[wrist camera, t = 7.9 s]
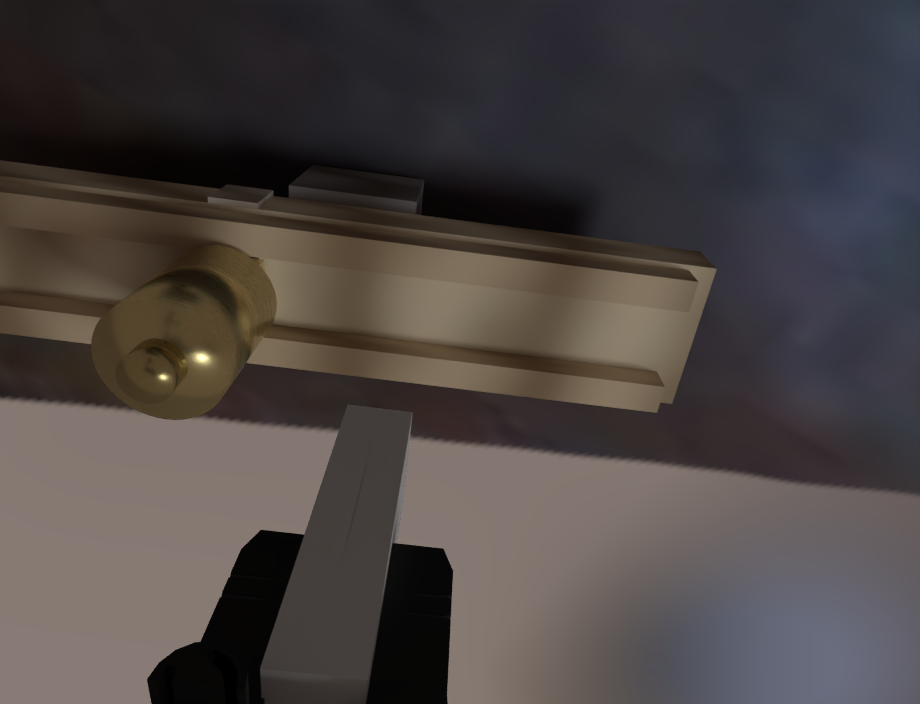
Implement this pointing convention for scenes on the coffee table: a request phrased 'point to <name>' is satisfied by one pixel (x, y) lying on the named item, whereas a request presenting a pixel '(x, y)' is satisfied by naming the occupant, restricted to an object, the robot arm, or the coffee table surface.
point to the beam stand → (365, 281)
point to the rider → (185, 332)
